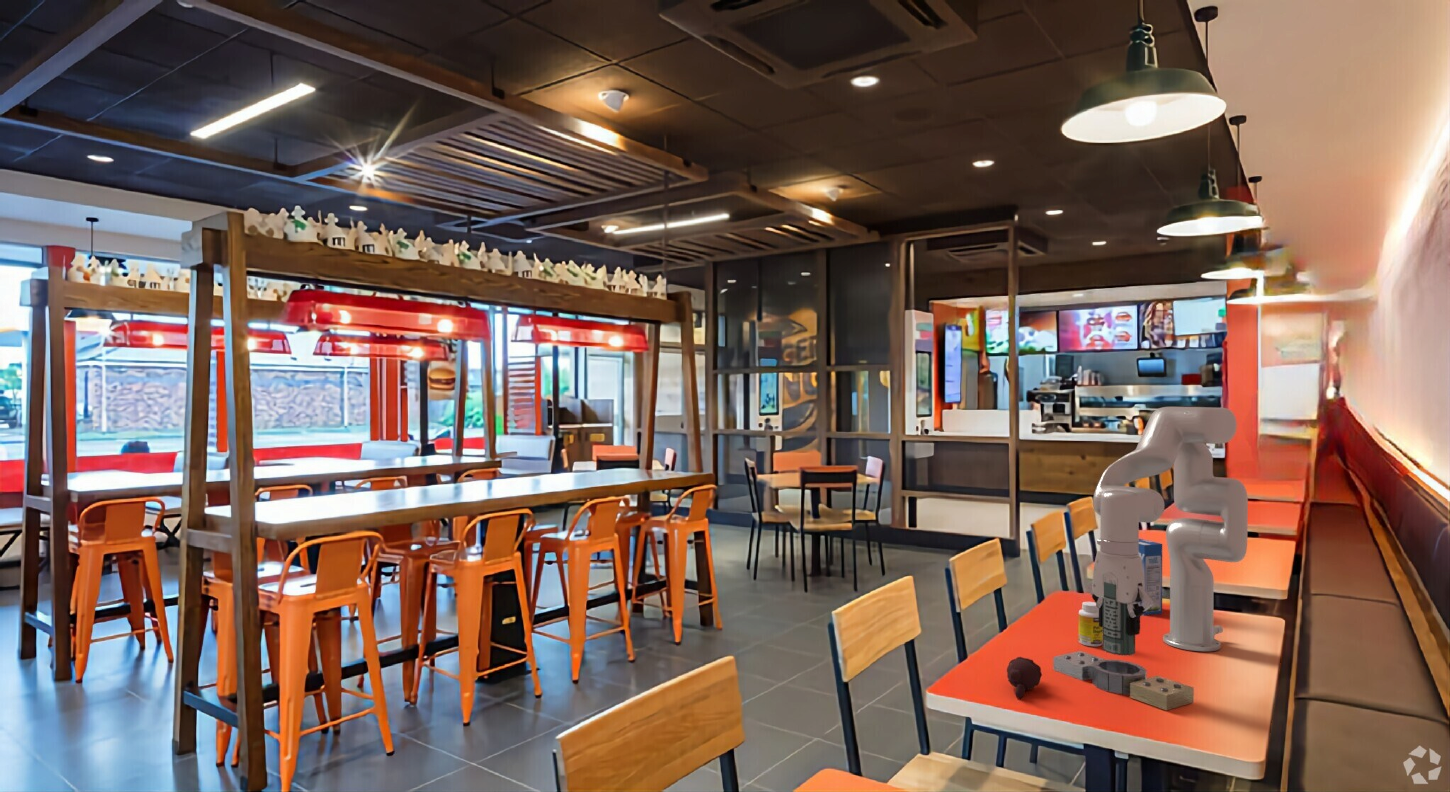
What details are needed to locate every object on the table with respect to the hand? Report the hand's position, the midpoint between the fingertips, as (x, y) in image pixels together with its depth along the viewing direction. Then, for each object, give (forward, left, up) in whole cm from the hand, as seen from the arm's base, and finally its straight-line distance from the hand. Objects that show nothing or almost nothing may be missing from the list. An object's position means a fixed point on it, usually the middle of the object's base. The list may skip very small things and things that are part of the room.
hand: (1119, 629), depth 180 cm
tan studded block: (0, +10, -12) cm, 16 cm away
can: (0, 0, -5) cm, 5 cm away
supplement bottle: (-19, -23, -13) cm, 32 cm away
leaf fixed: (0, -4, -12) cm, 13 cm away
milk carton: (-58, -38, -13) cm, 71 cm away
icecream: (+19, -9, -13) cm, 25 cm away
